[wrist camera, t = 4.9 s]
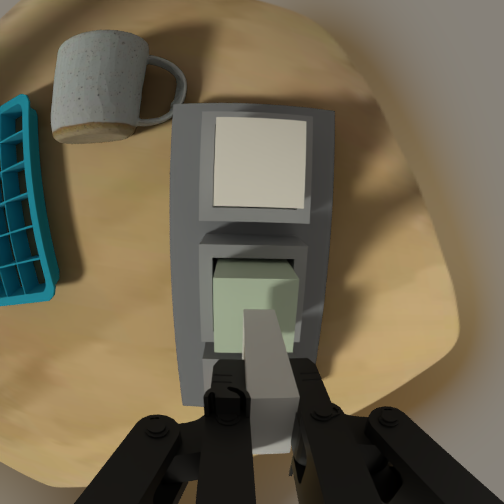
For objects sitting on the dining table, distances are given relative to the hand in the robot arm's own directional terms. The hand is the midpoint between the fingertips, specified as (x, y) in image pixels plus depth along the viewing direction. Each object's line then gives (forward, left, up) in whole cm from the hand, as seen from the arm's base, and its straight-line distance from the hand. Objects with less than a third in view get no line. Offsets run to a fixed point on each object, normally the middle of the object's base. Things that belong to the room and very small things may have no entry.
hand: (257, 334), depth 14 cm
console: (0, 0, -12) cm, 12 cm away
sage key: (0, 0, -6) cm, 6 cm away
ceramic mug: (-11, +15, -12) cm, 22 cm away
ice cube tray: (-25, +6, -12) cm, 28 cm away
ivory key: (0, +8, -6) cm, 10 cm away
